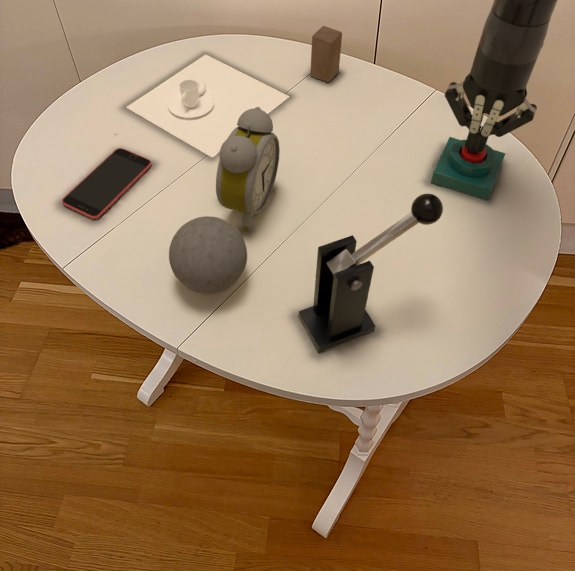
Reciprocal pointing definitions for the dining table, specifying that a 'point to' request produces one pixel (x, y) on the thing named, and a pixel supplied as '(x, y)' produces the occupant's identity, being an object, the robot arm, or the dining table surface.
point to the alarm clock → (248, 165)
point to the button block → (467, 170)
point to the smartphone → (106, 183)
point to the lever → (391, 232)
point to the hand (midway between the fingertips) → (473, 150)
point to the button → (472, 155)
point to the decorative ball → (208, 255)
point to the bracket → (338, 299)
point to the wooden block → (325, 53)
